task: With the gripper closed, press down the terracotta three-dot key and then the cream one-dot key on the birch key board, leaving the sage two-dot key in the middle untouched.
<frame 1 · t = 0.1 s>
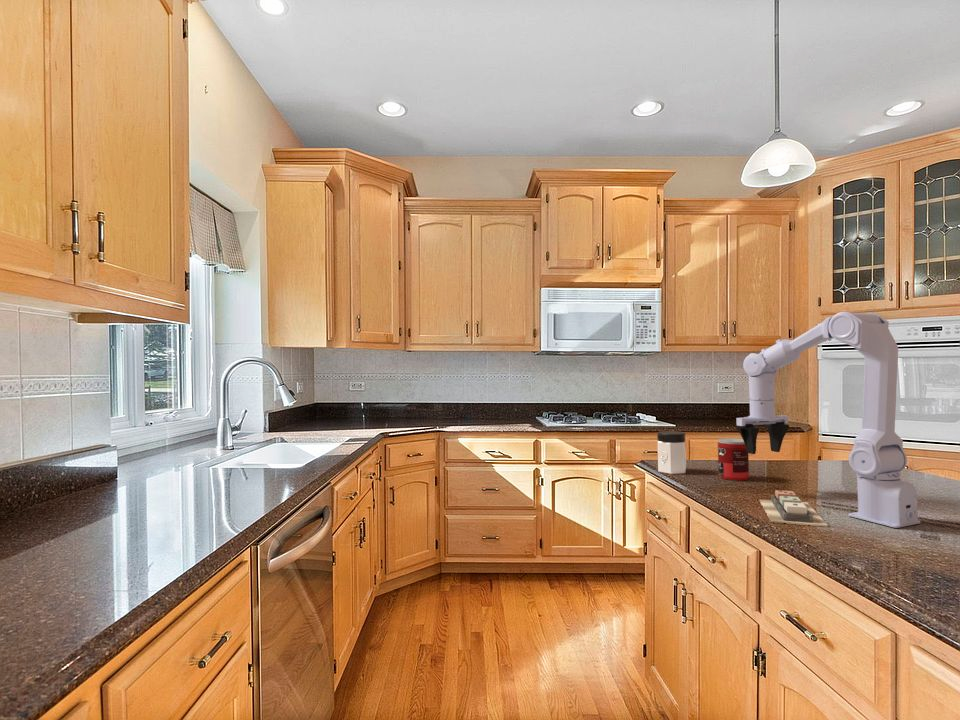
hand: (763, 452, 134), 10 cm above the countertop, tool pointing down, fingers open, 7 cm apart
key board: (790, 512, 115), on the countertop
key two: (790, 501, 115), point 3 cm above the countertop, slide at 0.0 cm
canned food: (733, 478, 150), on the countertop
jar: (672, 471, 161), on the countertop
key one: (795, 507, 110), point 3 cm above the countertop, slide at 0.0 cm
key three: (785, 495, 120), point 3 cm above the countertop, slide at 0.0 cm
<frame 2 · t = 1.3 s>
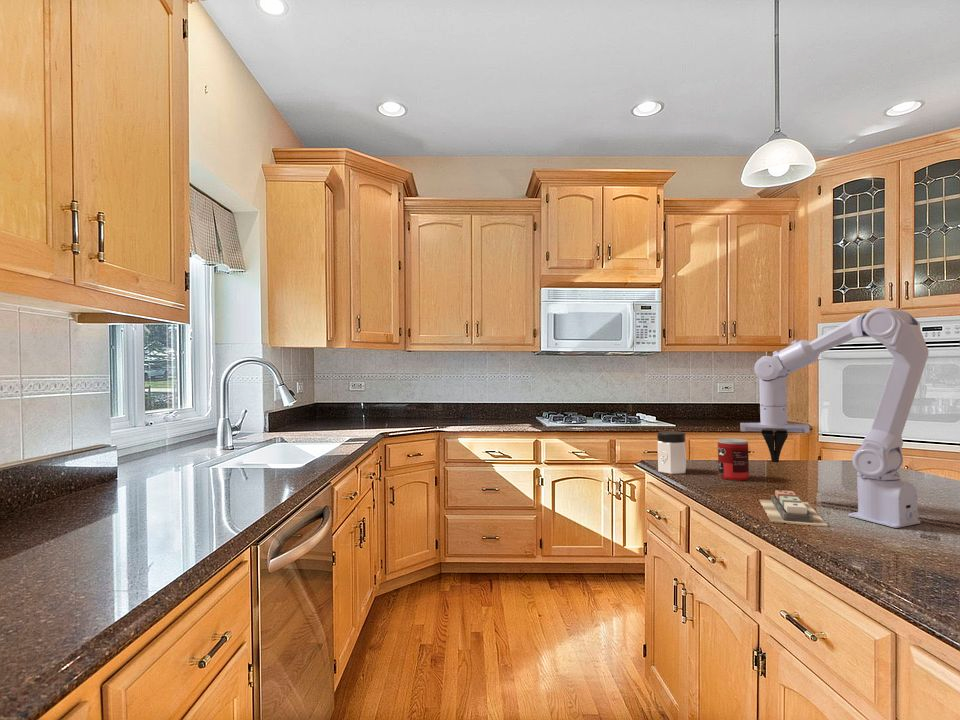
hand: (775, 461, 126), 9 cm above the countertop, tool pointing down, fingers closed
nothing on the countertop moved.
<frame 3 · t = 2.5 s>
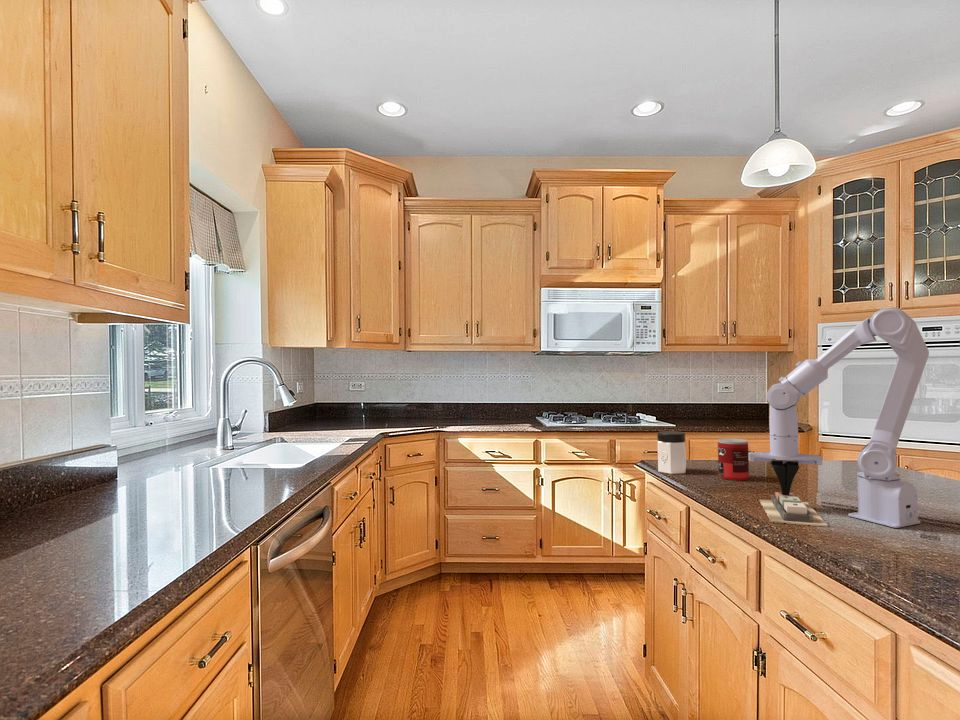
hand: (785, 494, 120), 3 cm above the countertop, tool pointing down, fingers closed, pressing on key three
key three: (785, 497, 120), point 2 cm above the countertop, slide at -0.5 cm, touching gripper
everything else where it was.
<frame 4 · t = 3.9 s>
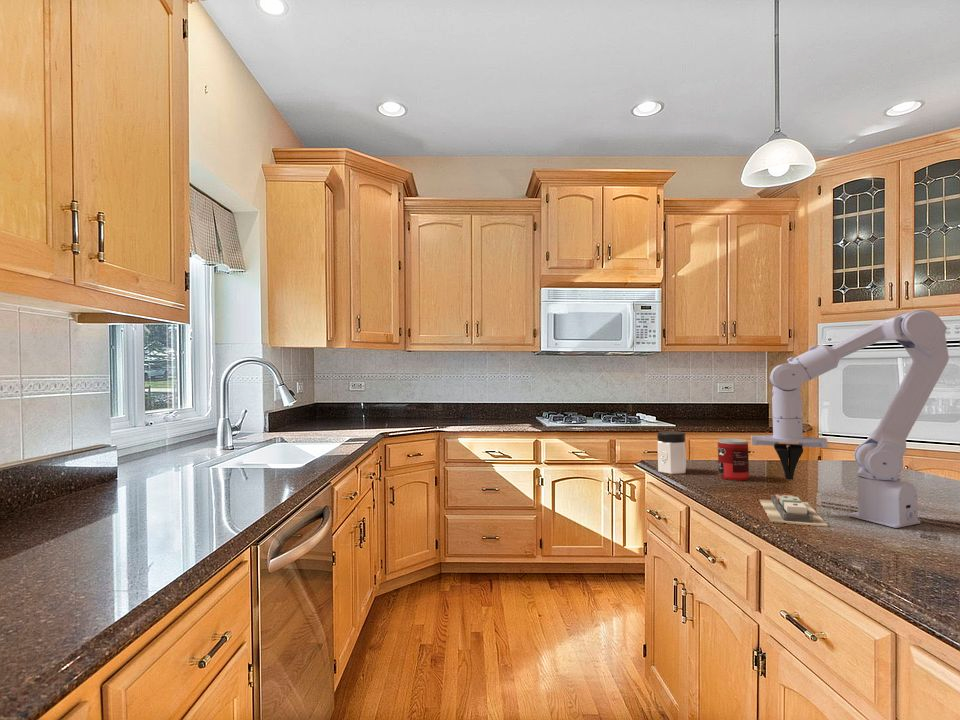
hand: (789, 478, 116), 7 cm above the countertop, tool pointing down, fingers closed
key three: (785, 499, 120), point 2 cm above the countertop, slide at -1.0 cm
everything else where it was.
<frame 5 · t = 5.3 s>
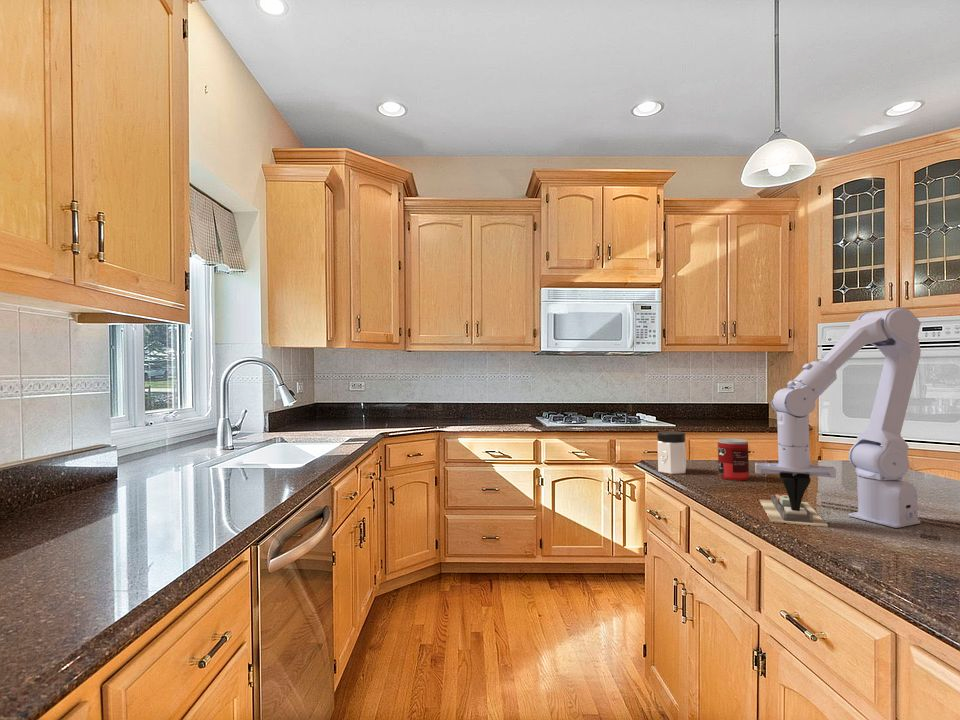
hand: (795, 509, 110), 2 cm above the countertop, tool pointing down, fingers closed, pressing on key one
key one: (795, 512, 110), point 2 cm above the countertop, slide at -1.0 cm, touching gripper
everything else where it was.
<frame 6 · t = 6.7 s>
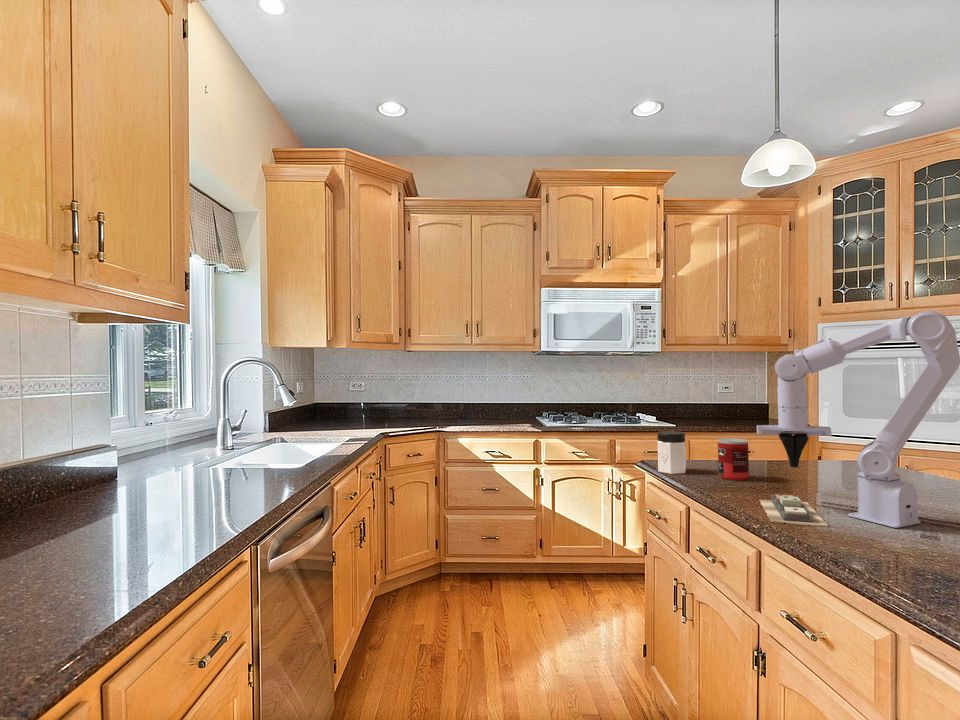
hand: (793, 466, 119), 9 cm above the countertop, tool pointing down, fingers closed
key one: (795, 512, 110), point 2 cm above the countertop, slide at -1.0 cm
everything else where it was.
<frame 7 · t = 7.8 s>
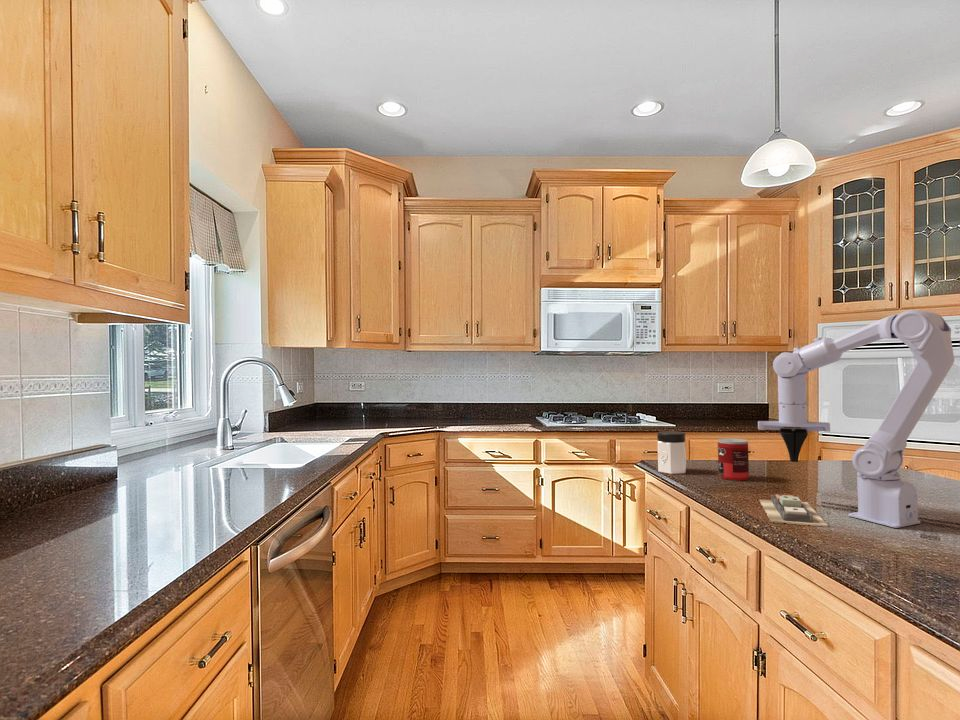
hand: (793, 461, 123), 10 cm above the countertop, tool pointing down, fingers closed
nothing on the countertop moved.
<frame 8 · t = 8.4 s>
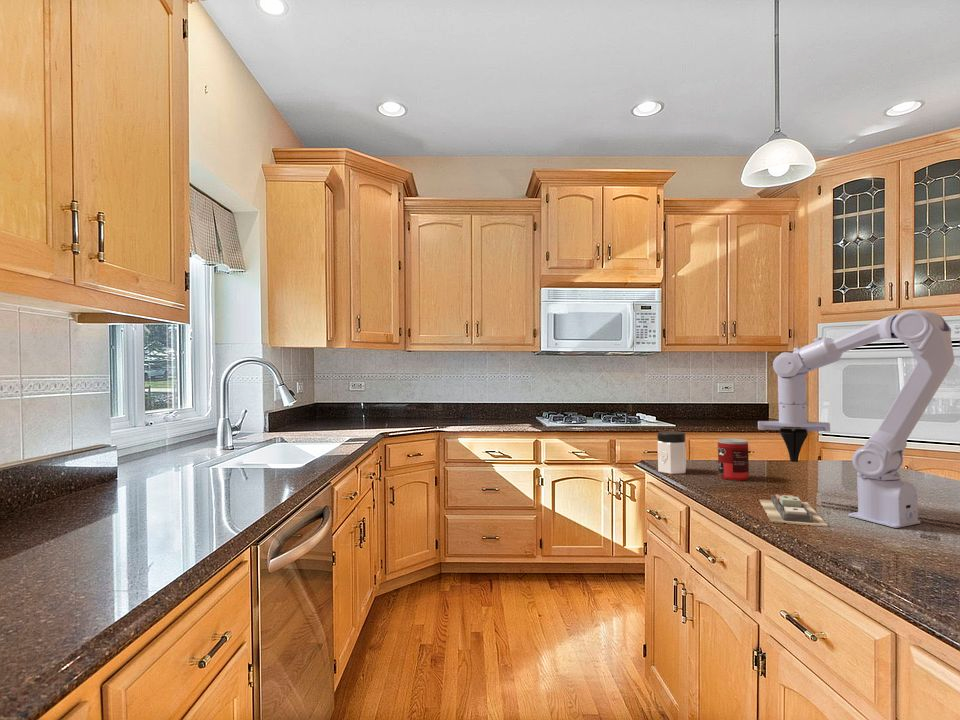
hand: (793, 461, 123), 10 cm above the countertop, tool pointing down, fingers closed
nothing on the countertop moved.
at the end: key three slide at -1.0 cm; key one slide at -1.0 cm; key two slide at 0.0 cm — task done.
